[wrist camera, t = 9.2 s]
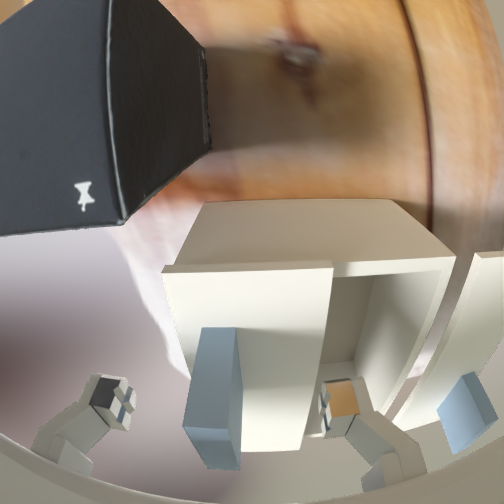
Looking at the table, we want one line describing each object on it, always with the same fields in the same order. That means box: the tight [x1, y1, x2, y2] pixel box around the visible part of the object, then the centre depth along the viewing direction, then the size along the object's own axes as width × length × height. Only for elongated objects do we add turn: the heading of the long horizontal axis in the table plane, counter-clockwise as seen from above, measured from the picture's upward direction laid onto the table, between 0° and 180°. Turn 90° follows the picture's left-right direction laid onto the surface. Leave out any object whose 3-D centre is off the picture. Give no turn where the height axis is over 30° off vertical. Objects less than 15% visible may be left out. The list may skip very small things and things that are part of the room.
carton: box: [174, 199, 456, 438], centre depth 16 cm, size 14×11×7 cm
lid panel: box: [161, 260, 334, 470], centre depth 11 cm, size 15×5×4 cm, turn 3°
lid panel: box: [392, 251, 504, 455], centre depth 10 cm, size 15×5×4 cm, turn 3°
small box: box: [0, 0, 212, 237], centre depth 8 cm, size 11×6×10 cm, turn 92°
